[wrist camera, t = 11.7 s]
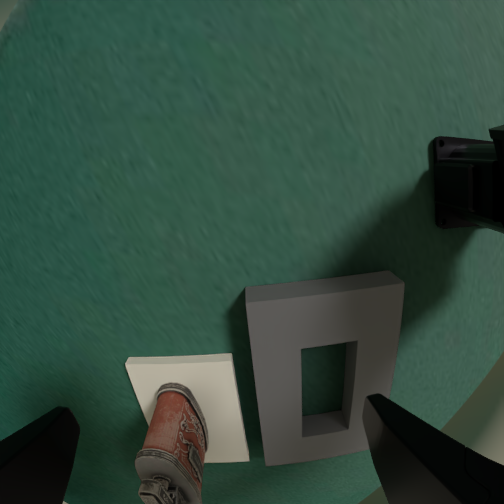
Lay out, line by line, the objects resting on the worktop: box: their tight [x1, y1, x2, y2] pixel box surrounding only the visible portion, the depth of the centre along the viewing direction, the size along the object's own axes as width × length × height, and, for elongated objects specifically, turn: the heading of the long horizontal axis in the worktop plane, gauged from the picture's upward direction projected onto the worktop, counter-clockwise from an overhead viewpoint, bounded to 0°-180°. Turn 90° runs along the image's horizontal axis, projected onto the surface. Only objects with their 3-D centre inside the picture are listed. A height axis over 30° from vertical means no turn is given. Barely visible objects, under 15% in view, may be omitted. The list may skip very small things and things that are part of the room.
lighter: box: [135, 382, 209, 504], centre depth 18 cm, size 8×3×10 cm, turn 8°
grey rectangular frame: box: [245, 270, 405, 466], centre depth 21 cm, size 10×16×2 cm, turn 5°
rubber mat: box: [125, 353, 249, 463], centre depth 23 cm, size 8×12×1 cm, turn 6°
